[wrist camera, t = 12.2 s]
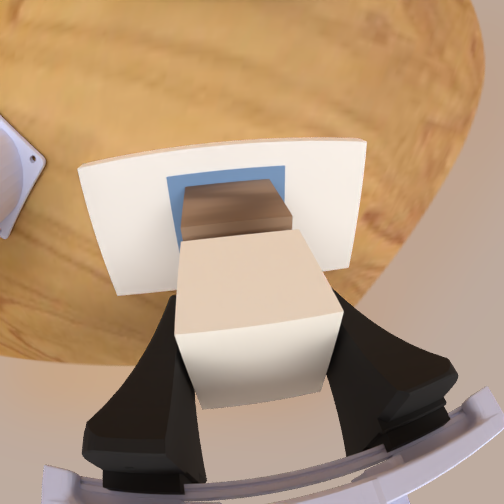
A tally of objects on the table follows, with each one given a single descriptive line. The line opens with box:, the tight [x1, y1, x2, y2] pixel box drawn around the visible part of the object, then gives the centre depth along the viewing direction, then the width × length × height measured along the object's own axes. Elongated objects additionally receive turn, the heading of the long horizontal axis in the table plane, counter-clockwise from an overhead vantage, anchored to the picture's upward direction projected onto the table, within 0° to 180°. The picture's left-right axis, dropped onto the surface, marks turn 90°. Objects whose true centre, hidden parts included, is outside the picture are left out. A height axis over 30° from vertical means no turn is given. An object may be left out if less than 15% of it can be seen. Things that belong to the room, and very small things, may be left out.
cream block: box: [174, 229, 344, 409], centre depth 12 cm, size 5×5×5 cm
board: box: [78, 137, 367, 296], centre depth 19 cm, size 18×10×1 cm, turn 92°
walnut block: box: [181, 179, 293, 241], centre depth 16 cm, size 5×5×5 cm
